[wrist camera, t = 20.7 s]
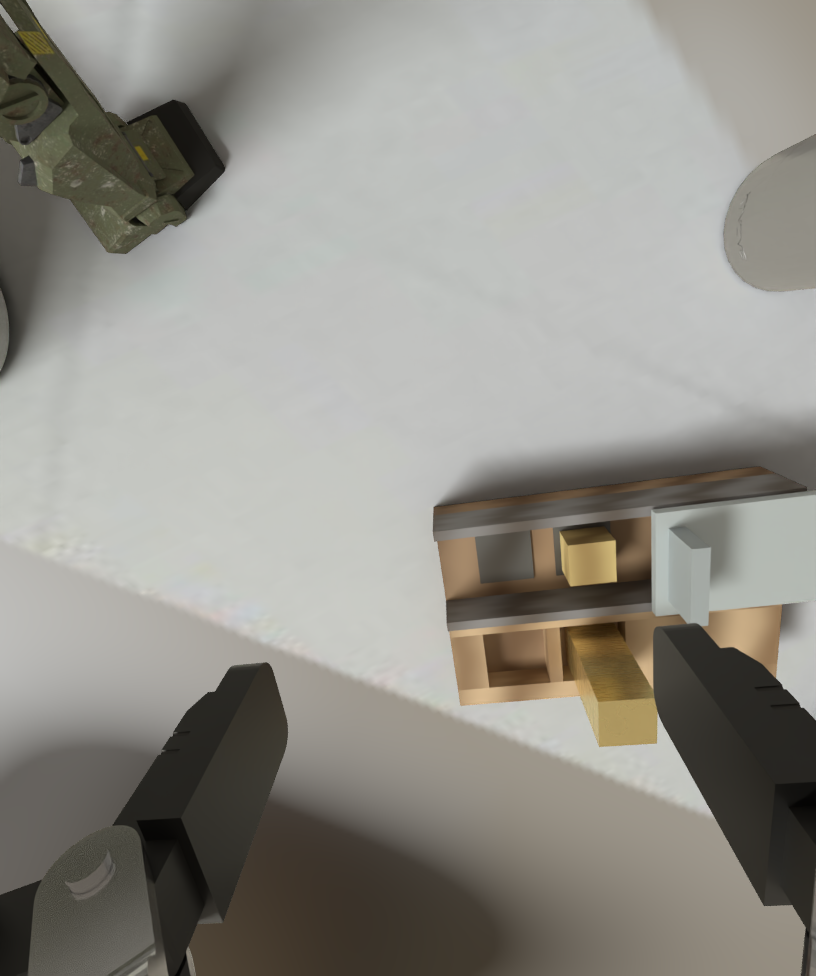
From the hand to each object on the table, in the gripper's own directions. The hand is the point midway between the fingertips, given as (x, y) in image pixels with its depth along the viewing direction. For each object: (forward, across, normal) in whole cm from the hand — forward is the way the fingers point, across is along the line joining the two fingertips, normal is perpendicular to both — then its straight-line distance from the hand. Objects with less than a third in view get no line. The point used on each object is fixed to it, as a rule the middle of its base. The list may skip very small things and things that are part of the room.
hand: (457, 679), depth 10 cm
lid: (+26, -20, +12) cm, 36 cm away
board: (+32, -12, +17) cm, 38 cm away
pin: (+30, -10, +22) cm, 38 cm away
